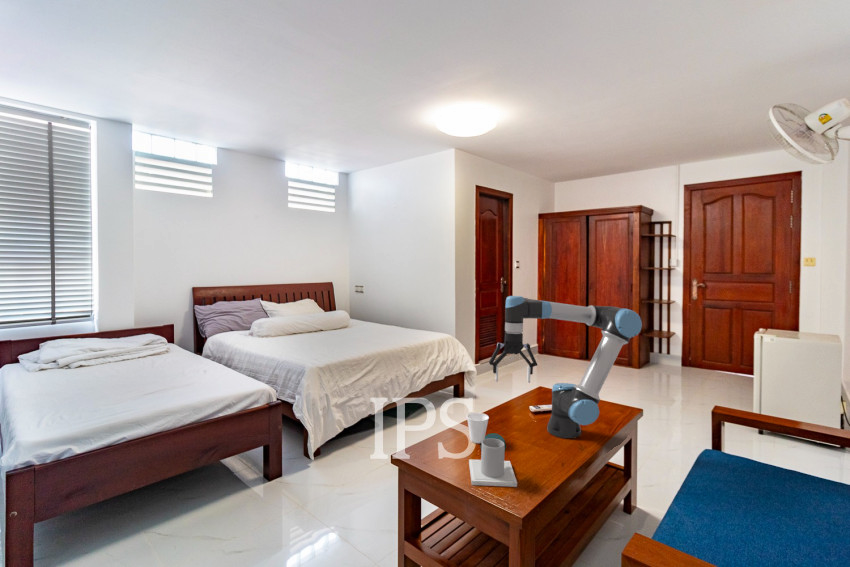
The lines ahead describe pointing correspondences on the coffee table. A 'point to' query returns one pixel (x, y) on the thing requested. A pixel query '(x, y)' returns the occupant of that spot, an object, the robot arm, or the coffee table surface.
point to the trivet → (481, 479)
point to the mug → (492, 457)
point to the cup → (477, 426)
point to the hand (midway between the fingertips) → (512, 381)
